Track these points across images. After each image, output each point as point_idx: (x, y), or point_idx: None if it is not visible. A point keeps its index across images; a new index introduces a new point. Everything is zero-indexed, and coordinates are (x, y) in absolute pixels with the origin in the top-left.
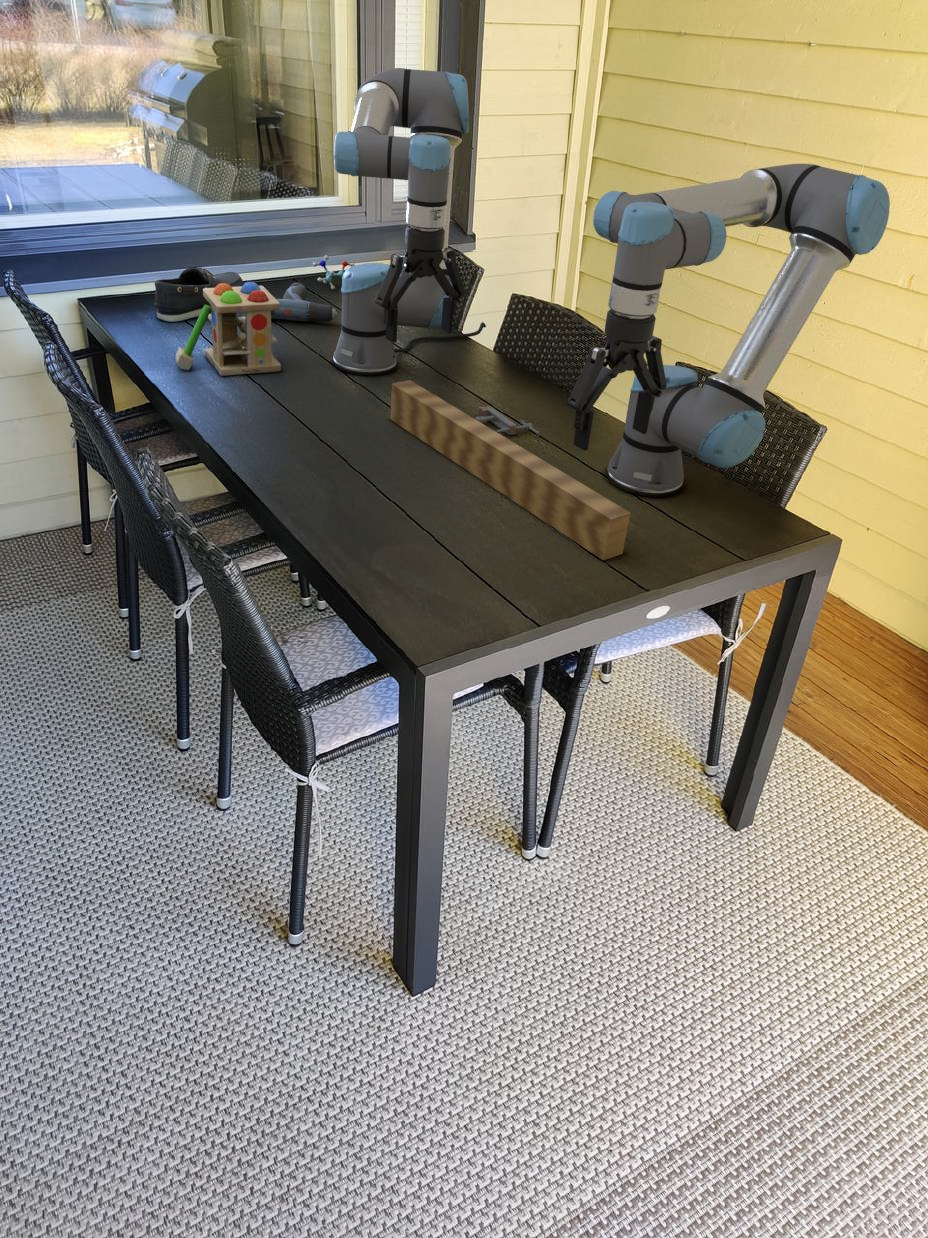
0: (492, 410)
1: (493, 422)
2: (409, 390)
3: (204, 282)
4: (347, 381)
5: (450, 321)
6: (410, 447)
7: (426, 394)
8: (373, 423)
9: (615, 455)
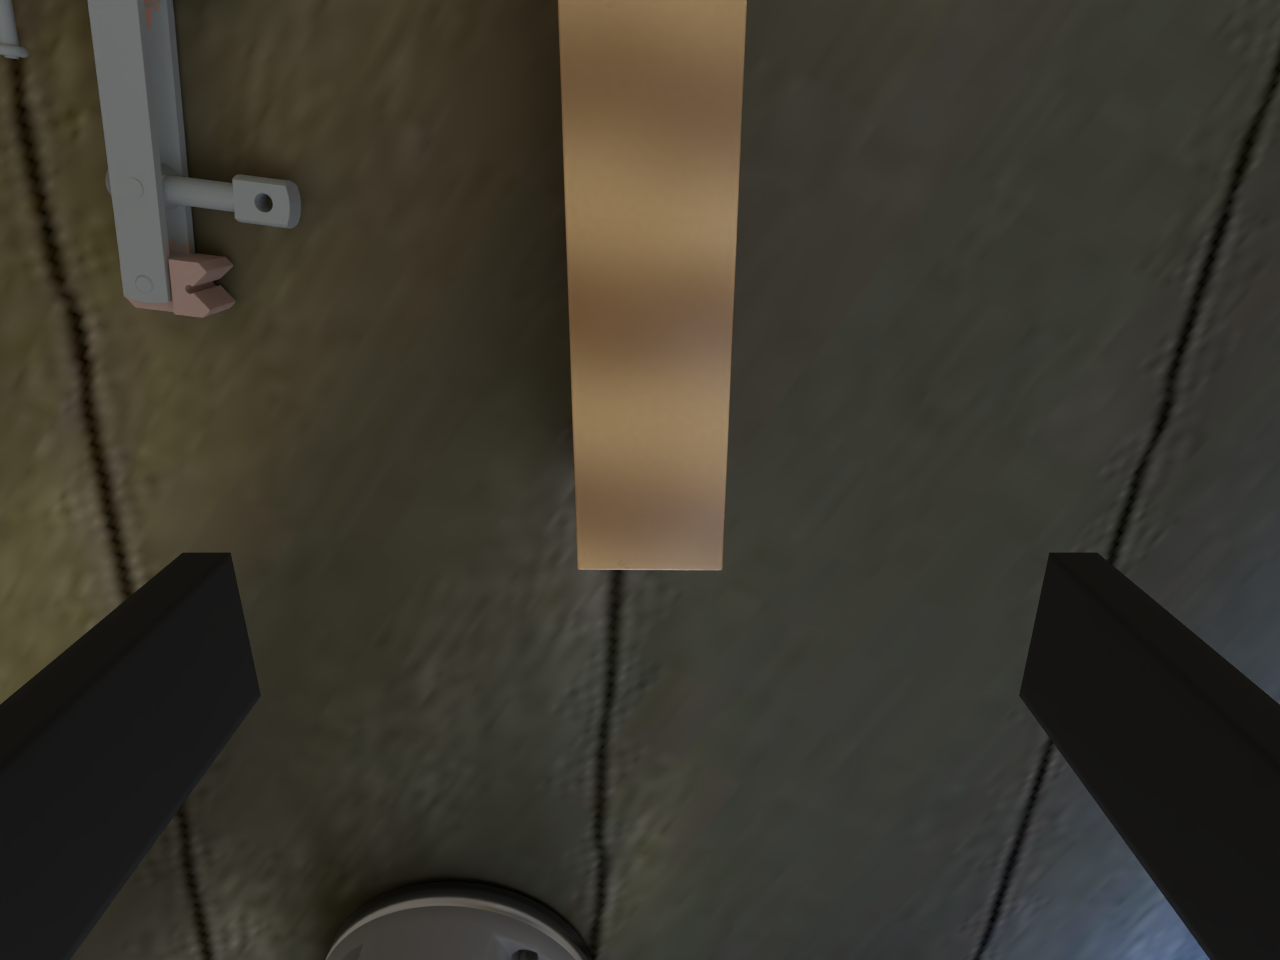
0: (141, 234)
1: (186, 176)
2: (687, 429)
3: None
4: (630, 878)
5: (122, 636)
6: (828, 122)
7: (620, 317)
8: (806, 476)
9: None
